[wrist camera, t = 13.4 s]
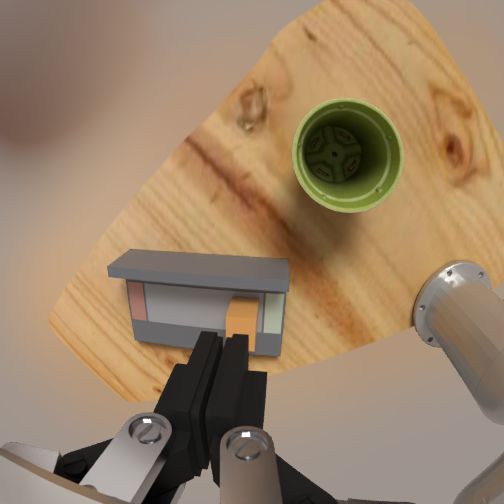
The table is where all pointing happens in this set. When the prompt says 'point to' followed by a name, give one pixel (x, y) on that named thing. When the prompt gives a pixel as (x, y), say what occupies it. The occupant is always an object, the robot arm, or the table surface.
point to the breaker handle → (243, 318)
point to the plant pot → (347, 155)
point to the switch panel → (201, 295)
